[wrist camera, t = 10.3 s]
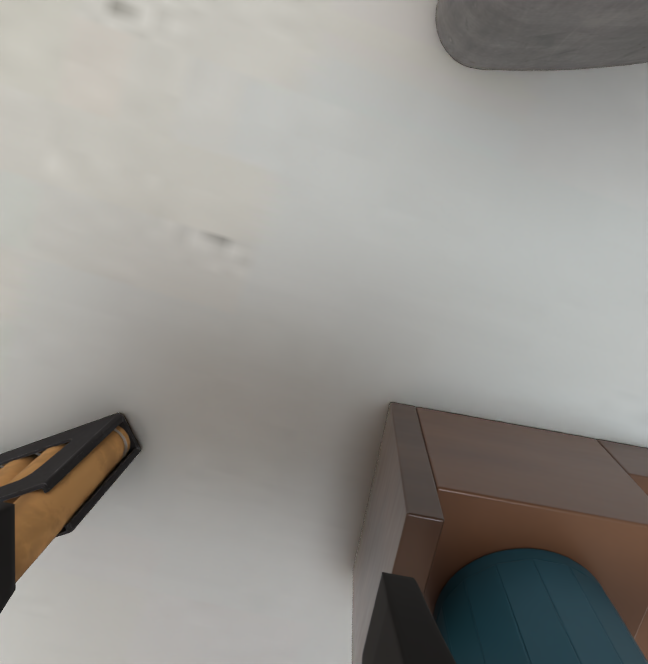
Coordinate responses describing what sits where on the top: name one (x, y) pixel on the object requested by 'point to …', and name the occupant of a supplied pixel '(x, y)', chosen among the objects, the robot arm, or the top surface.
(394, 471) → the step shelf
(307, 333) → the top surface
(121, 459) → the ammunition clip
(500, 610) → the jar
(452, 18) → the hip flask
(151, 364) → the top surface
